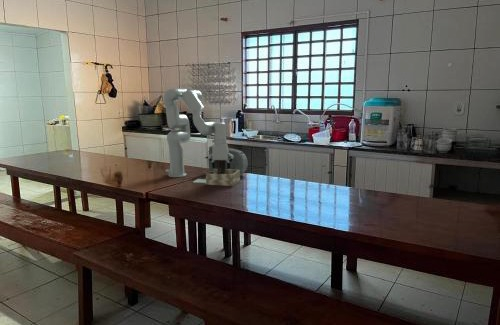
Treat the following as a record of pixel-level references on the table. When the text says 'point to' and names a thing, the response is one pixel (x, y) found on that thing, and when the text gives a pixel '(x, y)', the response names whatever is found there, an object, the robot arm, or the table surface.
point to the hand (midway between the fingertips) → (221, 168)
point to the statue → (221, 167)
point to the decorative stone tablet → (236, 164)
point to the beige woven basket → (223, 178)
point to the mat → (200, 181)
